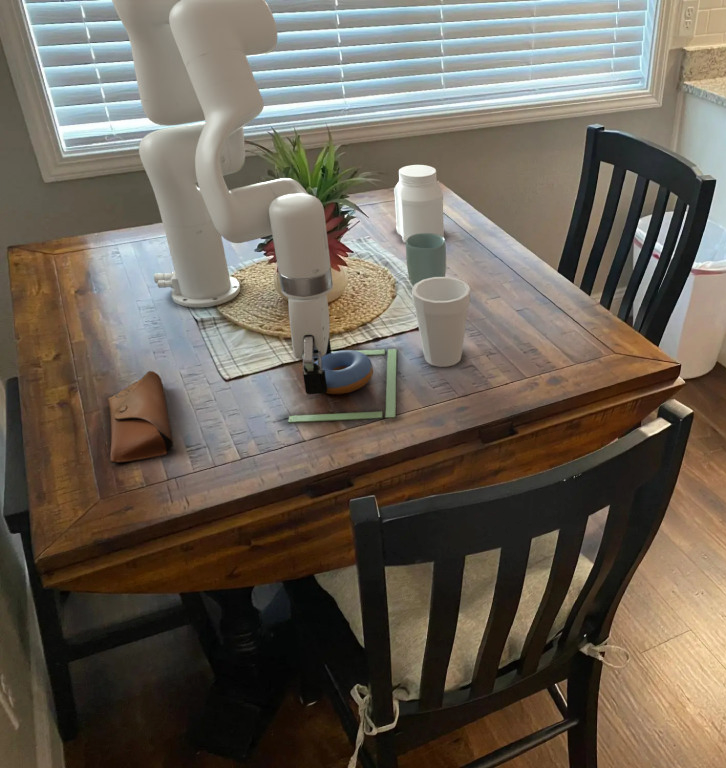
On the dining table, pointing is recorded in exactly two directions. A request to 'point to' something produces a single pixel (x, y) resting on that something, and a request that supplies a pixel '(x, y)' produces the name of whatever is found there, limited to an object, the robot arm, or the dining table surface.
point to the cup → (425, 256)
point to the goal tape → (364, 415)
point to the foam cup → (441, 318)
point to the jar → (418, 202)
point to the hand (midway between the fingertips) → (319, 375)
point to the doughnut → (346, 371)
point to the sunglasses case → (140, 421)
